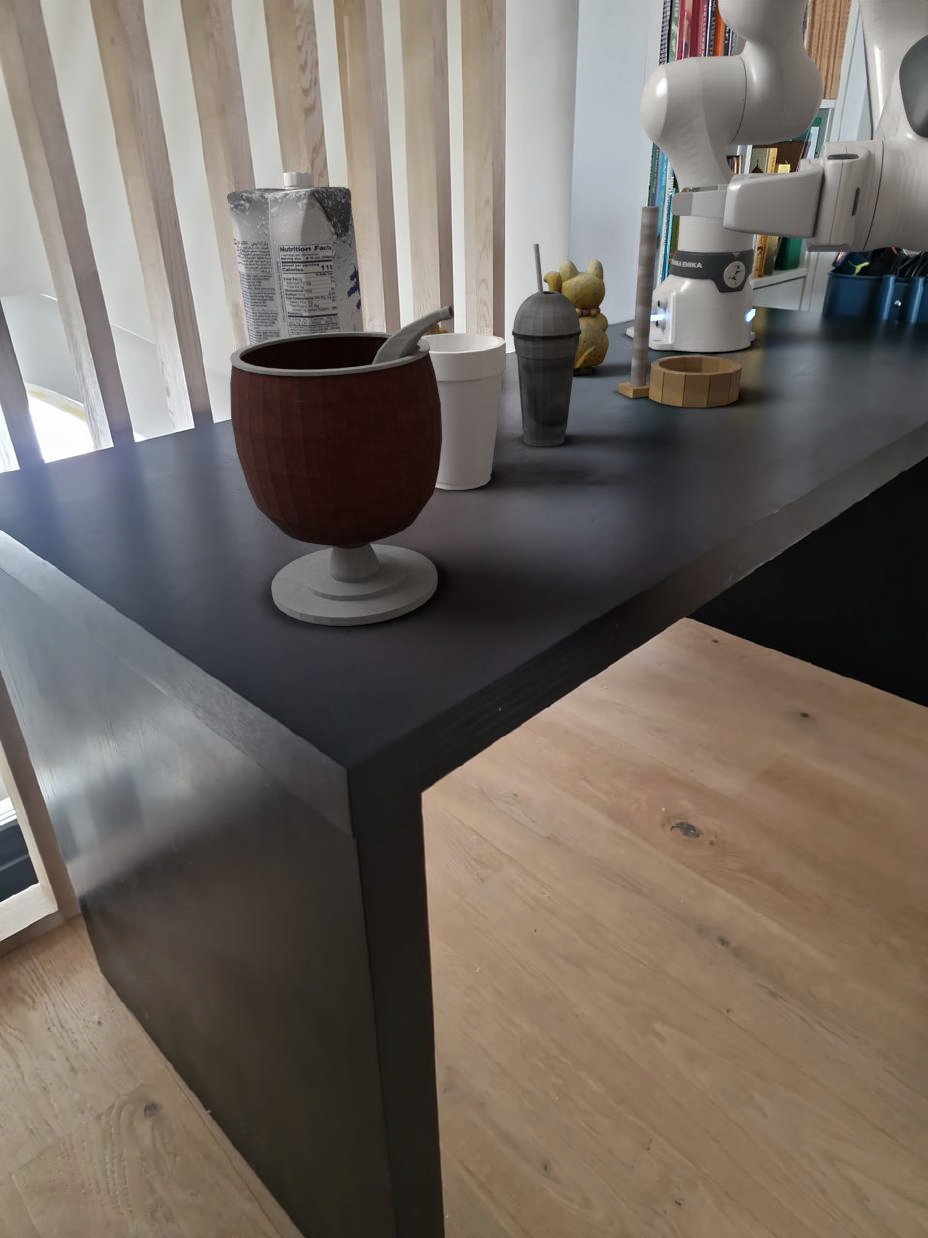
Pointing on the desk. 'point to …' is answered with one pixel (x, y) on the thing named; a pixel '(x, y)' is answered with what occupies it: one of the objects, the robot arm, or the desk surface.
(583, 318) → the decorative figurine
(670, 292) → the robot arm
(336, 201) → the juice carton
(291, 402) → the mate gourd
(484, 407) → the foam cup
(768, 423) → the desk surface
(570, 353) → the beverage cup
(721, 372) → the holder
